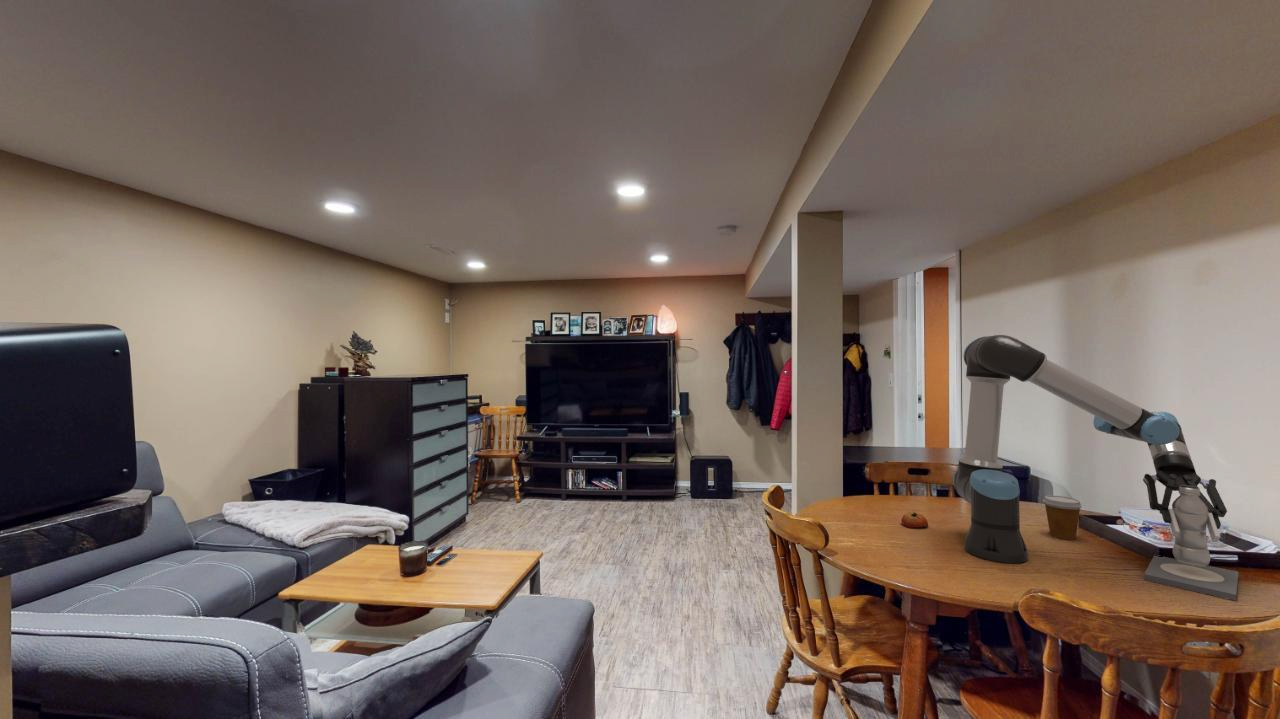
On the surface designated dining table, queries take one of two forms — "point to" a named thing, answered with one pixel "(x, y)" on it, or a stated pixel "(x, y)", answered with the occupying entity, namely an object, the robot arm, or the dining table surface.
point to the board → (1193, 577)
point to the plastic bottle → (1191, 528)
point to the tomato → (914, 520)
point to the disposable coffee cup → (1062, 516)
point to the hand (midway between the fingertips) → (1196, 536)
